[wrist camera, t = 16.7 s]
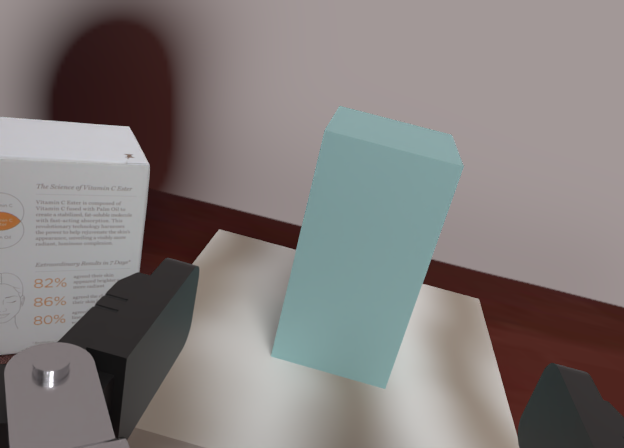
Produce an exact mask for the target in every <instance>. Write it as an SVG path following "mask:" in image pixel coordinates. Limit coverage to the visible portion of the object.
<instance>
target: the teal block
mask: <svg viewBox="0 0 624 448" xmlns="http://www.w3.org/2000/svg"><path fill="white" fill-rule="evenodd" d="M463 167H464V166H463V163H462V161H461V158H460V155H459V153H458V150H457V148H456V145H455V142H454V139H453V137H452V135H450V134H446V133H443V132H439V131H435V130H431V129H427V128H423V127H419V126H415V125H411V124H408V123H404V122H400V121H396V120H392V119H388V118H385V117H381V116H377V115H373V114H369V113H365V112H361V111H357V110H354V109H350V108H345V107H342V106H339V108H338V110H337V111H336V113H335V114H334V116H333V118H332V119H331V121H330V123H329V124H328V126H327V127H326V129H325V131H324V136H323V140H322V144H321V148H320V153H319V157H318V161H317V165H316V169H315V173H314V178H313V182H312V186H311V190H310V194H309V198H308V203H307V207H306V211H305V215H304V219H303V224H302V228H301V232H300V236H299V240H298V244H297V249H296V253H295V257H294V261H293V265H292V270H291V274H290V278H289V282H288V286H287V291H286V295H285V299H284V303H283V307H282V311H281V316H280V320H279V324H278V328H277V332H276V337H275V341H274V345H273V349H272V353H271V357H274V358H278V359H281V360H285V361H288V362H292V363H295V364H299V365H302V366H306V367H309V368H313V369H316V370H320V371H323V372H327V373H330V374H334V375H337V376H341V377H344V378H348V379H351V380H355V381H358V382H362V383H365V384H369V385H372V386H376V387H379V388H383V389H385V388H386V385H387V383H388V380H389V377H390V374H391V371H392V368H393V366H394V363H395V360H396V357H397V354H398V351H399V349H400V346H401V343H402V340H403V337H404V334H405V332H406V329H407V326H408V323H409V320H410V317H411V315H412V312H413V309H414V306H415V303H416V300H417V298H418V295H419V292H420V289H421V286H422V283H423V281H424V278H425V275H426V272H427V269H428V266H429V264H430V261H431V258H432V255H433V252H434V249H435V247H436V244H437V241H438V238H439V235H440V232H441V229H442V227H443V224H444V221H445V218H446V215H447V213H448V210H449V207H450V204H451V201H452V198H453V195H454V193H455V190H456V187H457V184H458V181H459V179H460V176H461V173H462V170H463Z"/></svg>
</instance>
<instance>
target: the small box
mask: <svg viewBox="0 0 624 448" xmlns="http://www.w3.org/2000/svg"><path fill="white" fill-rule="evenodd" d="M149 175H150V165H149V163H148V161H147V159H146V158H145V155H144V153H143V152H142V149H141V148H140V146H139V144H138V142H137V140H136V138H135V136H134V134H133V133H132V131H131V129H130V128H129V127H127V126H126V127H125V126H112V125H97V124H85V123H73V122H60V121H46V120H34V119H21V118H8V117H0V355H7V354H17V353H18V352H20V351H22V350H24V349H26V348H28V347H31V346H34V345H37V344H42V343H50V342H58V341H59V340H60V339H61V338H62V337H63V336H64V335H65V334H66V333H67V332H68V331H69V330H70V329H71V328H72V327H73V326H74V325H75V324H76V323H77V322H78V321H79V320H80V319H81V318H82V317H83V316H84V315H85V314H86V313H87V312H88V311H89V310H90V308H91V307H92V306H93V307H94V306H95V303H96V302H97V301H98V300H99V299H100V298H101V297H102V296H105V294H106V292H107V291H108V290H109V289H110V288H111V287H112V286H113V285H114V284H115V283H116V282H117V281H118V280H121V279H123V278H125V277H128V276H130V275H132V274H135V273H137V272H140V262H141V253H142V244H143V234H144V224H145V216H146V207H147V196H148V185H149Z"/></svg>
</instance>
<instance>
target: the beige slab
mask: <svg viewBox="0 0 624 448" xmlns="http://www.w3.org/2000/svg"><path fill="white" fill-rule="evenodd" d="M295 253H296V250H294V249H291V248H287V247H283V246H279V245H276V244H272V243H268V242H264V241H261V240H257V239H253V238H250V237H246V236H242V235H238V234H235V233H231V232H227V231H224V230H220V229H219V230H218V232H217V233H216V234H215V236H214V237H213V238H212V239H211V241H210V242H209V243H208V245H207V246H206V247H205V248H204V250H203V251H202V252H201V254H200V255H199V256H198V257H197V259H196V260H195V261H194V263H193V265H196V266H199V280H198V286H197V292H196V298H195V305H194V311H193V317H192V323H191V327H190V331H189V335H188V338H187V340H186V343H185V345H184V347H183V349H182V351H181V353H180V354H179V356H178V358H177V359H176V361H175V363H174V364H173V366H172V367H171V369H170V371H169V372H168V374H167V376H166V377H165V379H164V381H163V382H162V384H161V386H160V387H159V389H158V390H157V392H156V394H155V395H154V397H153V399H152V400H151V402H150V404H149V405H148V407H147V408H146V410H145V412H144V413H143V415H142V417H141V418H140V420H139V422H138V423H137V425H136V427H135V428H134V430H133V431H132V433H131V435H130V436H129V438H128V440H127V442H128V444H129V447H130V448H519V444H518V437H517V434H516V430H515V427H514V423H513V419H512V416H511V412H510V409H509V405H508V402H507V398H506V394H505V391H504V387H503V384H502V380H501V377H500V373H499V369H498V366H497V362H496V359H495V355H494V352H493V348H492V344H491V341H490V337H489V334H488V330H487V327H486V323H485V319H484V316H483V312H482V309H481V305H480V302H479V299H477V298H473V297H469V296H465V295H462V294H458V293H454V292H451V291H447V290H443V289H439V288H436V287H432V286H428V285H425V284H422V286H421V289H420V292H419V295H418V298H417V300H416V303H415V306H414V309H413V312H412V315H411V317H410V320H409V323H408V326H407V329H406V332H405V334H404V337H403V340H402V343H401V346H400V349H399V351H398V354H397V357H396V360H395V363H394V366H393V368H392V371H391V374H390V377H389V380H388V383H387V385H386V388H385V389H383V388H379V387H376V386H372V385H369V384H365V383H362V382H358V381H355V380H351V379H348V378H344V377H341V376H337V375H334V374H330V373H327V372H323V371H320V370H316V369H313V368H309V367H306V366H302V365H299V364H295V363H292V362H288V361H285V360H281V359H278V358H274V357H271V353H272V349H273V345H274V341H275V337H276V332H277V328H278V324H279V320H280V316H281V311H282V307H283V303H284V299H285V295H286V291H287V286H288V282H289V278H290V274H291V270H292V265H293V261H294V257H295Z"/></svg>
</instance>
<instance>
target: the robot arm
mask: <svg viewBox="0 0 624 448" xmlns="http://www.w3.org/2000/svg"><path fill="white" fill-rule="evenodd" d="M198 280H199V266H196V265H193V264H189V263H185V262H182V261H178V260H174V259H171V258H166V259H165V260H164V261H163V262H162V263H161V264H160V265H159V266H158V267H157V268H156V269H155V271H154V272H153V273H152V274H151V275H146V274H142V273H139V272H137V273H135V274H132V275H130V276H128V277H125V278H123V279H121V280H118V281H117V282H116V283H115V284H114V285H113V286H112V287H111V288H110V289H109V290H108V291H107V292H106V294H105V296H102V297H101V298H100V299H99V300H98V301H97V302H96V303H95V306H94V307H93V306H92V307H91V308H90V310H89V311H88V312H87V313H86V314H85V315H84V316H83V317H82V318H81V319H80V320H79V321H78V322H77V323H76V324H75V325H74V326H73V327H72V328H71V329H70V330H69V331H68V332H67V333H66V334H65V335H64V336H63V337H62V338H61V339H60V340H59V341H58V342H50V343H42V344H37V345H34V346H31V347H28V348H26V349H24V350H22V351H20V352H18V353H17V354H16V355H14V356H13V357H12V358H11V359H10V360H9V362H8V363H7V364H0V448H130V447H129V444H128V442H127V440H128V438H129V436H130V435H131V433H132V431H133V430H134V428H135V427H136V425H137V423H138V422H139V420H140V418H141V417H142V415H143V413H144V412H145V410H146V408H147V407H148V405H149V404H150V402H151V400H152V399H153V397H154V395H155V394H156V392H157V390H158V389H159V387H160V386H161V384H162V382H163V381H164V379H165V377H166V376H167V374H168V372H169V371H170V369H171V367H172V366H173V364H174V363H175V361H176V359H177V358H178V356H179V354H180V353H181V351H182V349H183V347H184V345H185V343H186V340H187V338H188V335H189V331H190V327H191V323H192V317H193V311H194V305H195V298H196V292H197V286H198ZM518 444H519V448H624V417H623V416H622V415H621V414H620V413H619V412H618V411H617V410H616V409H615V408H614V407H613V406H612V405H611V404H610V403H609V402H607V401H604V400H603V399H602V397H601V395H600V393H599V391H598V389H597V387H596V386H595V384H594V382H593V380H592V378H591V376H590V375H589V374H588V373H587V372H584V371H580V370H576V369H573V368H569V367H565V366H562V365H558V364H554V363H551V364H549V365H548V366H547V367H546V368H545V370H544V371H543V373H542V375H541V377H540V379H539V381H538V383H537V385H536V388H535V390H534V392H533V394H532V396H531V398H530V400H529V402H528V404H527V406H526V408H525V410H524V412H523V414H522V416H521V419H520V423H519V427H518Z"/></svg>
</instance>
